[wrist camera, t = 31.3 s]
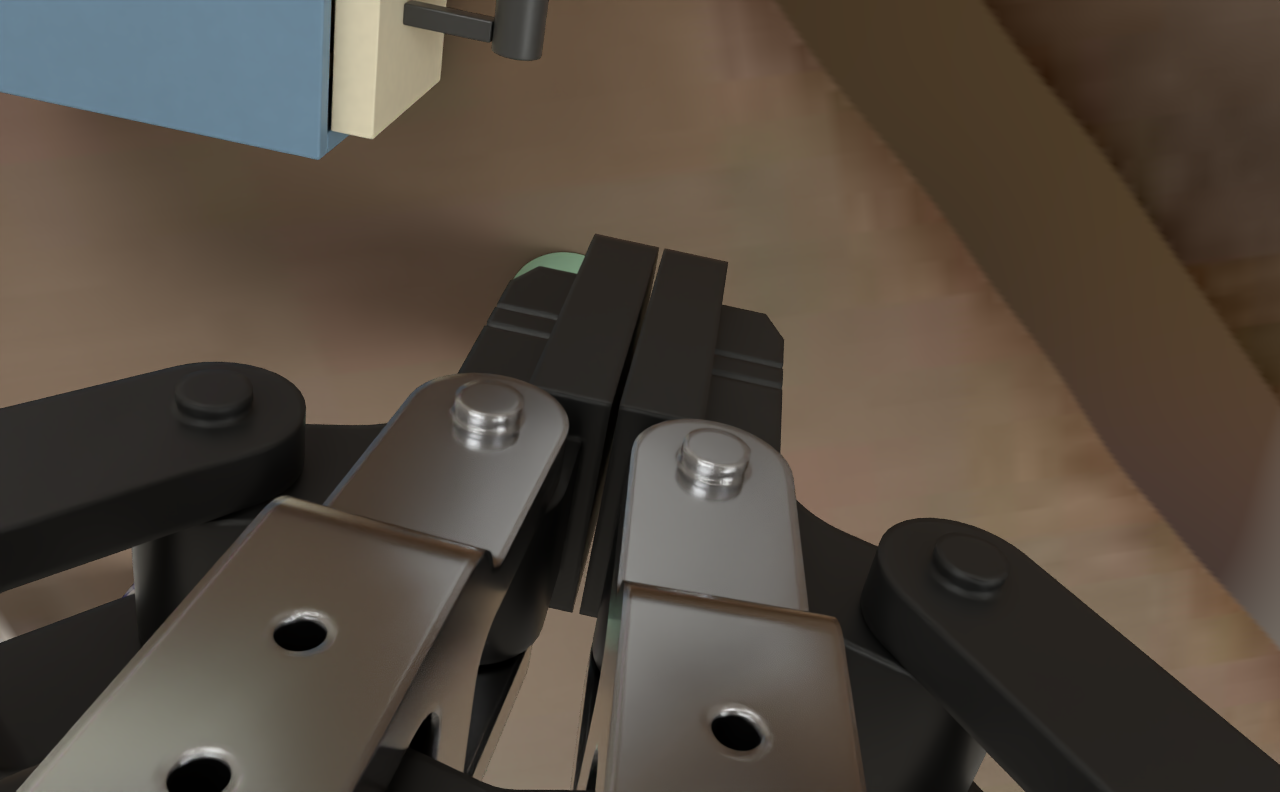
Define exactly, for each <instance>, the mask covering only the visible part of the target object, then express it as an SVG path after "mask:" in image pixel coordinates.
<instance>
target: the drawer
mask: <svg viewBox="0 0 1280 792" xmlns="http://www.w3.org/2000/svg"><path fill="white" fill-rule="evenodd" d="M548 2H549V0H496V10H495V17H491V16H486V15H481V14H477V13H472V12H467V11H462V10H458V9H453V8H448V7H446V4H447V0H331V26H330V58H329V78H330V77H332V76H333V83H332V113H331V130H332V131H335V132H339V133H344V134H349V135H354V136H358V137H363V138H368V139H374V138H375V137H376V136H377V135H378V134H379V133H380V132H382V131H383V130H384V129H385V128H386V127H387V126H389V125H390V124H391V123H392V122H393V121H394V120H395V119H397V118H398V117H399V116H400V115H401V114H402V113H403V112H405V111H406V110H407V109H408V108H409V107H410V106H411V105H413V104H414V103H415V102H416V101H417V100H418V99H419V98H421V97H422V96H423V95H424V94H425V93H426V92H427V91H429V90H430V89H431V88H432V87H433V86H434V85H435V84H437V83H438V82H439V81H440V76H441V64H442V52H443V40H444V33H445V34H450V35H454V36H459V37H464V38H469V39H473V40H478V41H483V42H488V43H489V42H491V41H492V51H493V52H494V53H496V54H498V55H500V56H503V57H506V58H510V59H515V60H523V61H532V60H537V59H540V58H541V56H542V49H543V41H544V33H545V25H546V17H547V10H548Z"/></svg>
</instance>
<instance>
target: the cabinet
mask: <svg viewBox="0 0 1280 792" xmlns="http://www.w3.org/2000/svg"><path fill="white" fill-rule="evenodd" d="M330 26H331V0H0V92H2V93H7V94H12V95H16V96H21V97H26V98H30V99H35V100H40V101H44V102H49V103H54V104H58V105H63V106H68V107H73V108H77V109H82V110H87V111H91V112H96V113H101V114H105V115H110V116H115V117H119V118H124V119H129V120H133V121H138V122H143V123H147V124H152V125H157V126H162V127H166V128H171V129H176V130H180V131H185V132H190V133H194V134H199V135H204V136H208V137H213V138H218V139H222V140H227V141H232V142H236V143H241V144H246V145H250V146H255V147H260V148H265V149H269V150H274V151H279V152H283V153H288V154H293V155H297V156H302V157H307V158H311V159H316V160H319V159H321V158H322V157H323V156H324V155H326V153H328V152H329V151H330V150H332V149H333V148H334V147H335V146H337V145H338V144H339V143H340V142H341V141H343V140H344V139H345V138H346V137H348V136H349V134H344V133H339V132H335V131H332V130H331V113H332V83H333V76H332V77H330V78H329V58H330Z"/></svg>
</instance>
